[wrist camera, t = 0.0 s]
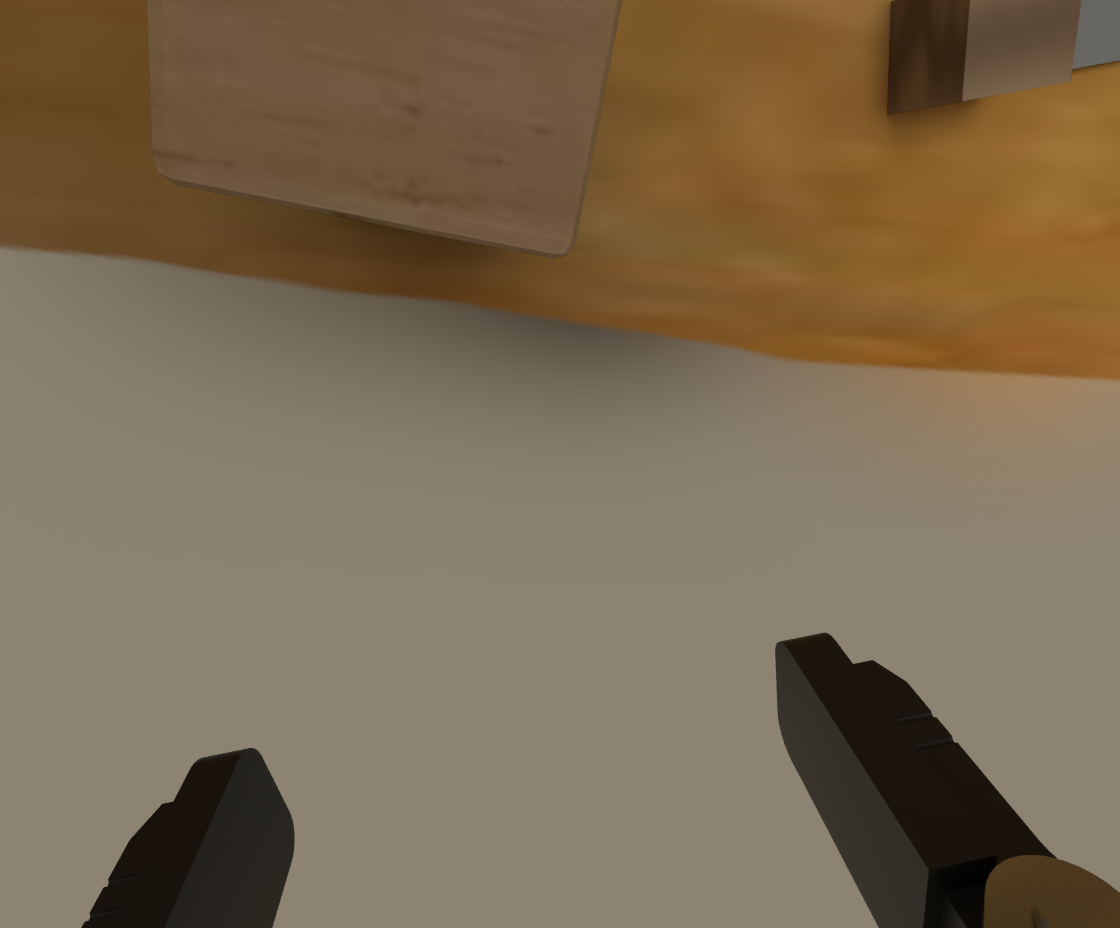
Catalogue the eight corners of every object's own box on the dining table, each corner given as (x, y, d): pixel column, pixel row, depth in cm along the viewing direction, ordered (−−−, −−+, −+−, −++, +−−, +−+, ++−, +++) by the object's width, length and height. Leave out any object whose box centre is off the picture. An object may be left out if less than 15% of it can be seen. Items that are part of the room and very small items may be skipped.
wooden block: (529, 221, 35) (573, 264, 16) (336, 182, 33) (143, 180, 15) (566, 2, 31) (676, -263, 13) (350, -56, 29) (116, -455, 11)
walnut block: (890, 2, 32) (972, -35, 27) (987, -16, 32) (1089, -57, 27) (886, 114, 34) (962, 101, 29) (977, 97, 34) (1070, 81, 29)
